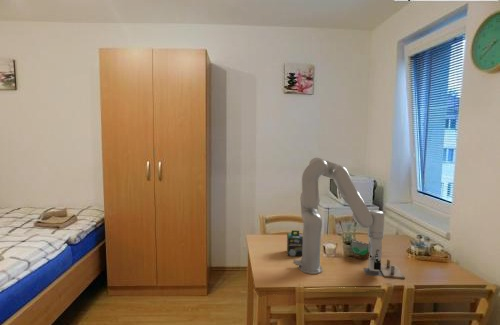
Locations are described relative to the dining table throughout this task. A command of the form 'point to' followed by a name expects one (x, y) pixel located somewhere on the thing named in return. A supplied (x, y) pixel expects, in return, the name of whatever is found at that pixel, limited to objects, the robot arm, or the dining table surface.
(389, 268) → the pinboard
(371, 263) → the sleeve
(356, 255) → the food container
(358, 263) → the dining table surface
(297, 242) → the chalk box
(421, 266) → the dining table surface
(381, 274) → the mat
